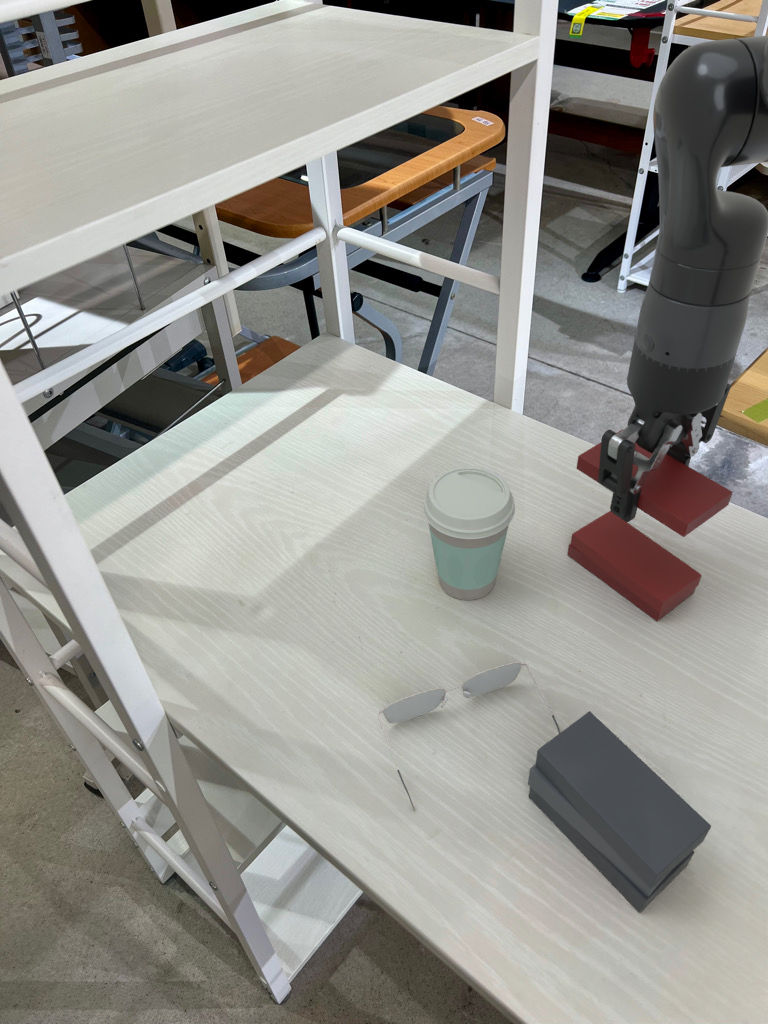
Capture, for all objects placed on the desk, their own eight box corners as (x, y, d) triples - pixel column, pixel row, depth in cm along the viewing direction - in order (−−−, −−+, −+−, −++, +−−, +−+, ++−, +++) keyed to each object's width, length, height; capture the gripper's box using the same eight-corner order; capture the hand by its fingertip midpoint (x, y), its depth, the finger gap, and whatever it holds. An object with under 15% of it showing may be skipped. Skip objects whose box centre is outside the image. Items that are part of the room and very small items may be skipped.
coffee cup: (523, 596, 74) (532, 508, 66) (444, 621, 73) (444, 534, 65) (487, 540, 80) (491, 453, 72) (413, 562, 79) (409, 475, 71)
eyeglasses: (523, 679, 67) (527, 655, 64) (566, 759, 62) (573, 737, 59) (377, 728, 65) (375, 706, 62) (409, 816, 59) (409, 796, 56)
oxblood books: (697, 594, 73) (704, 572, 71) (657, 625, 71) (664, 603, 69) (603, 530, 80) (608, 508, 78) (565, 556, 78) (568, 534, 76)
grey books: (692, 864, 55) (716, 821, 50) (639, 918, 52) (658, 878, 48) (574, 752, 62) (585, 705, 57) (522, 795, 59) (529, 749, 55)
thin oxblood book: (728, 505, 65) (733, 491, 64) (683, 537, 63) (687, 524, 62) (620, 442, 73) (622, 428, 72) (576, 468, 70) (578, 455, 69)
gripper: (666, 395, 52) (627, 558, 64) (785, 324, 58) (729, 486, 69) (584, 353, 57) (561, 513, 68) (702, 291, 63) (663, 448, 74)
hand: (646, 498), depth 69 cm, fingers closed on thin oxblood book, 6 cm apart
